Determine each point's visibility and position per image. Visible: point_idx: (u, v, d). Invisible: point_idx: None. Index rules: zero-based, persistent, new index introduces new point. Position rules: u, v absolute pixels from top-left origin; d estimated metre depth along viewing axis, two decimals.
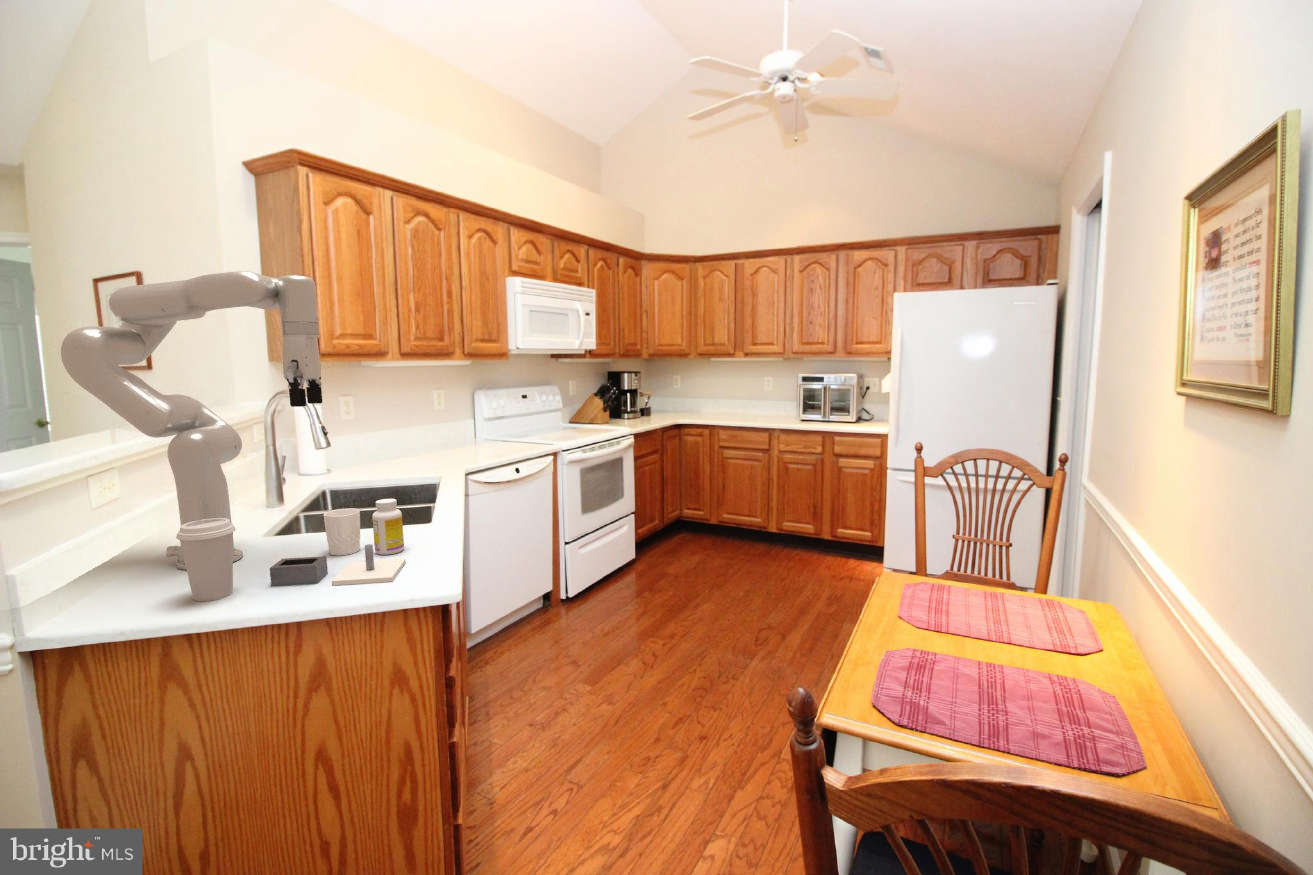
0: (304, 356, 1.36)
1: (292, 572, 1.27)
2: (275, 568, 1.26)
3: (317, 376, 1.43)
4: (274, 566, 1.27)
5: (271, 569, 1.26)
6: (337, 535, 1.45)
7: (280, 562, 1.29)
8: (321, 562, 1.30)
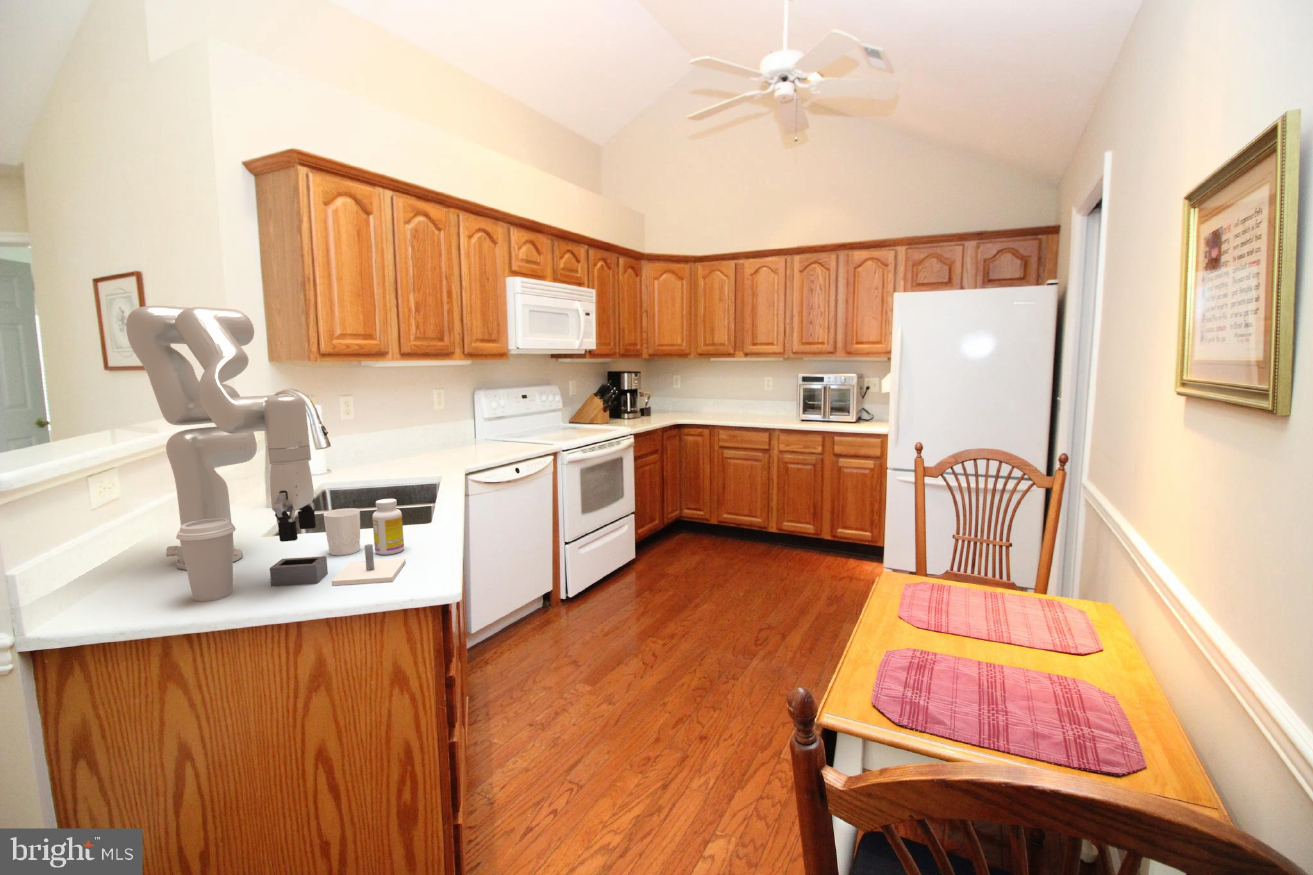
0: (294, 485, 1.23)
1: (292, 572, 1.27)
2: (275, 568, 1.26)
3: (309, 501, 1.30)
4: (274, 566, 1.27)
5: (271, 569, 1.26)
6: (337, 535, 1.45)
7: (280, 562, 1.29)
8: (321, 562, 1.30)
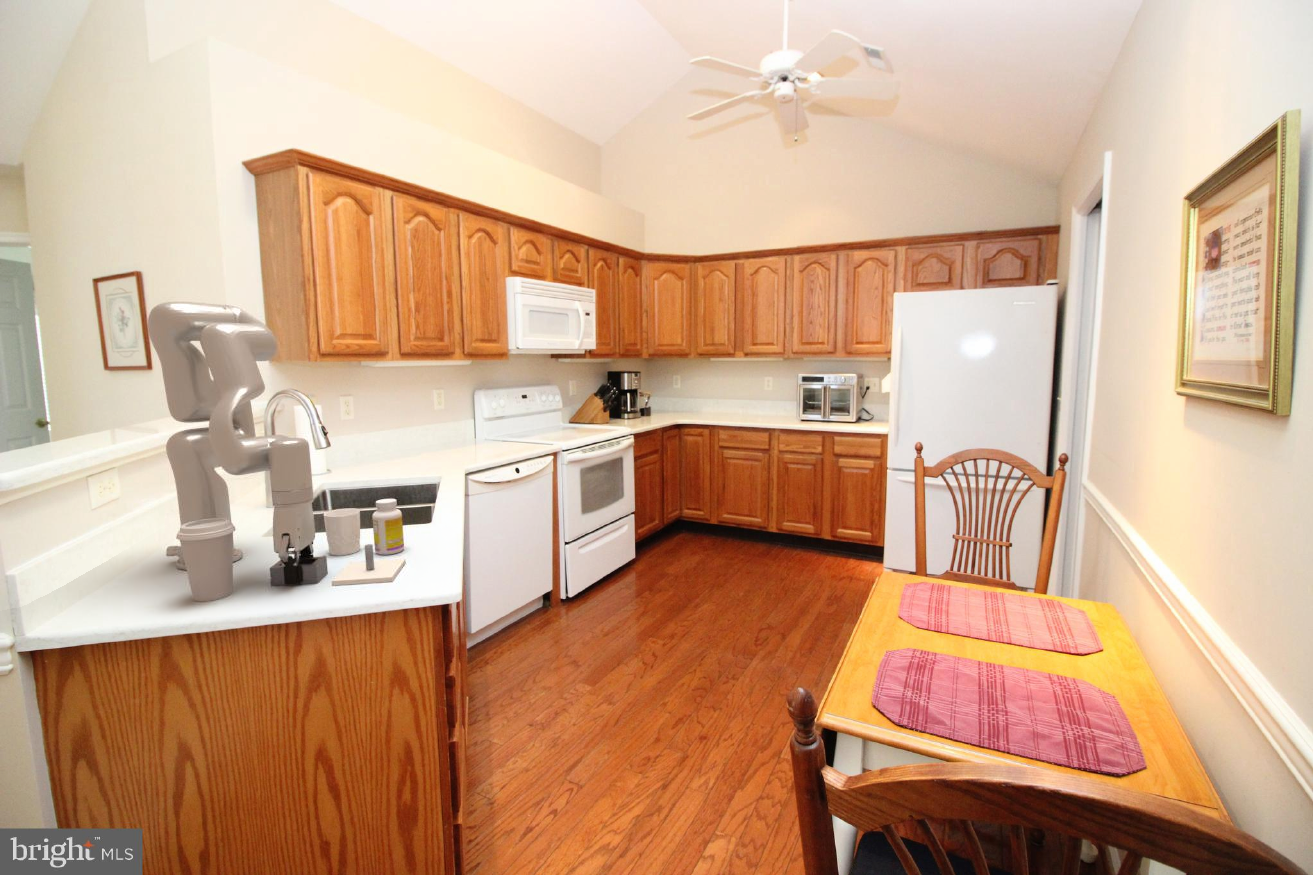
0: (296, 528, 1.25)
1: None
2: (275, 568, 1.26)
3: (311, 541, 1.31)
4: (274, 566, 1.27)
5: (271, 569, 1.26)
6: (337, 535, 1.45)
7: (280, 562, 1.29)
8: (321, 562, 1.30)
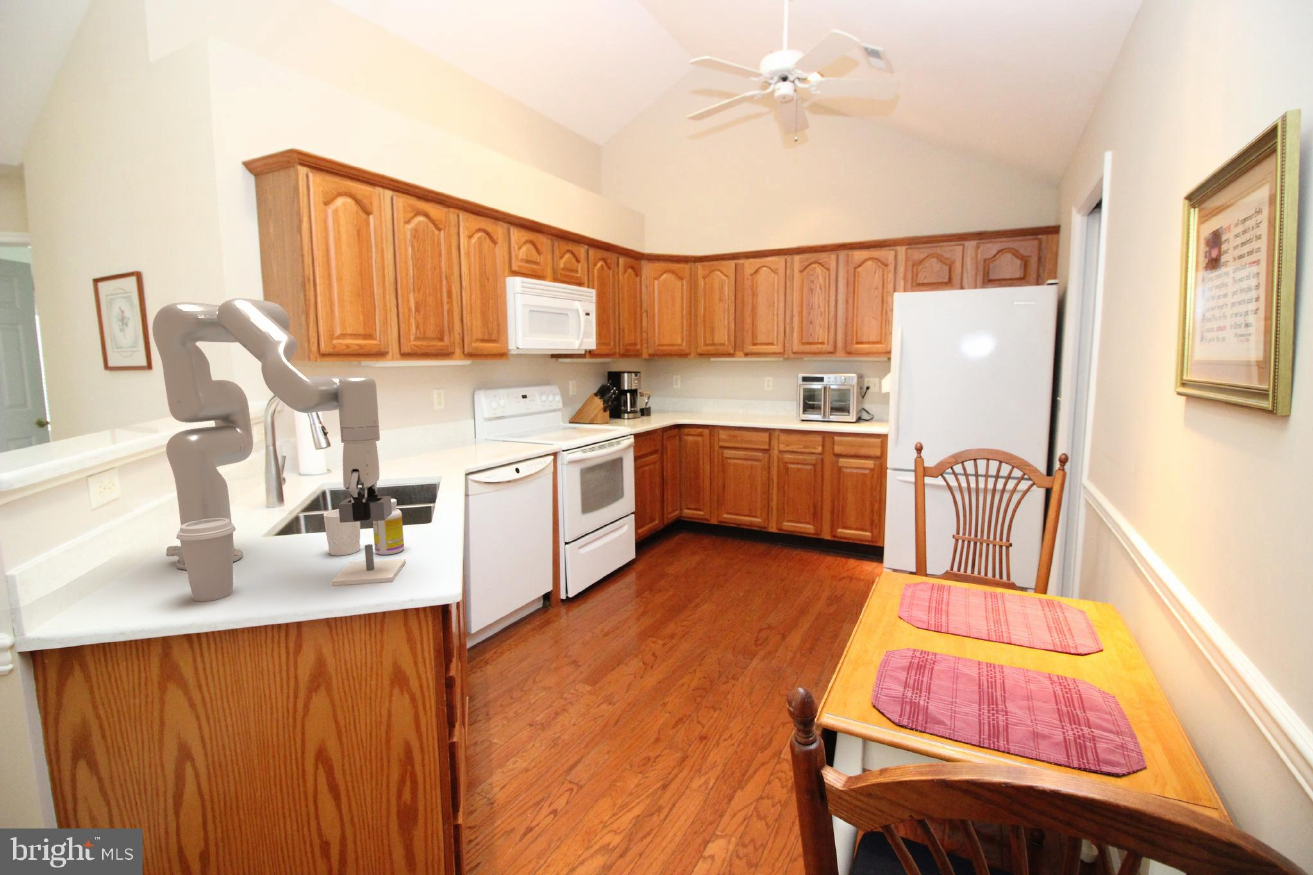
0: (365, 464, 1.26)
1: None
2: (344, 504, 1.28)
3: (376, 480, 1.33)
4: (342, 503, 1.29)
5: (340, 505, 1.28)
6: (337, 535, 1.45)
7: (347, 500, 1.31)
8: (387, 500, 1.32)
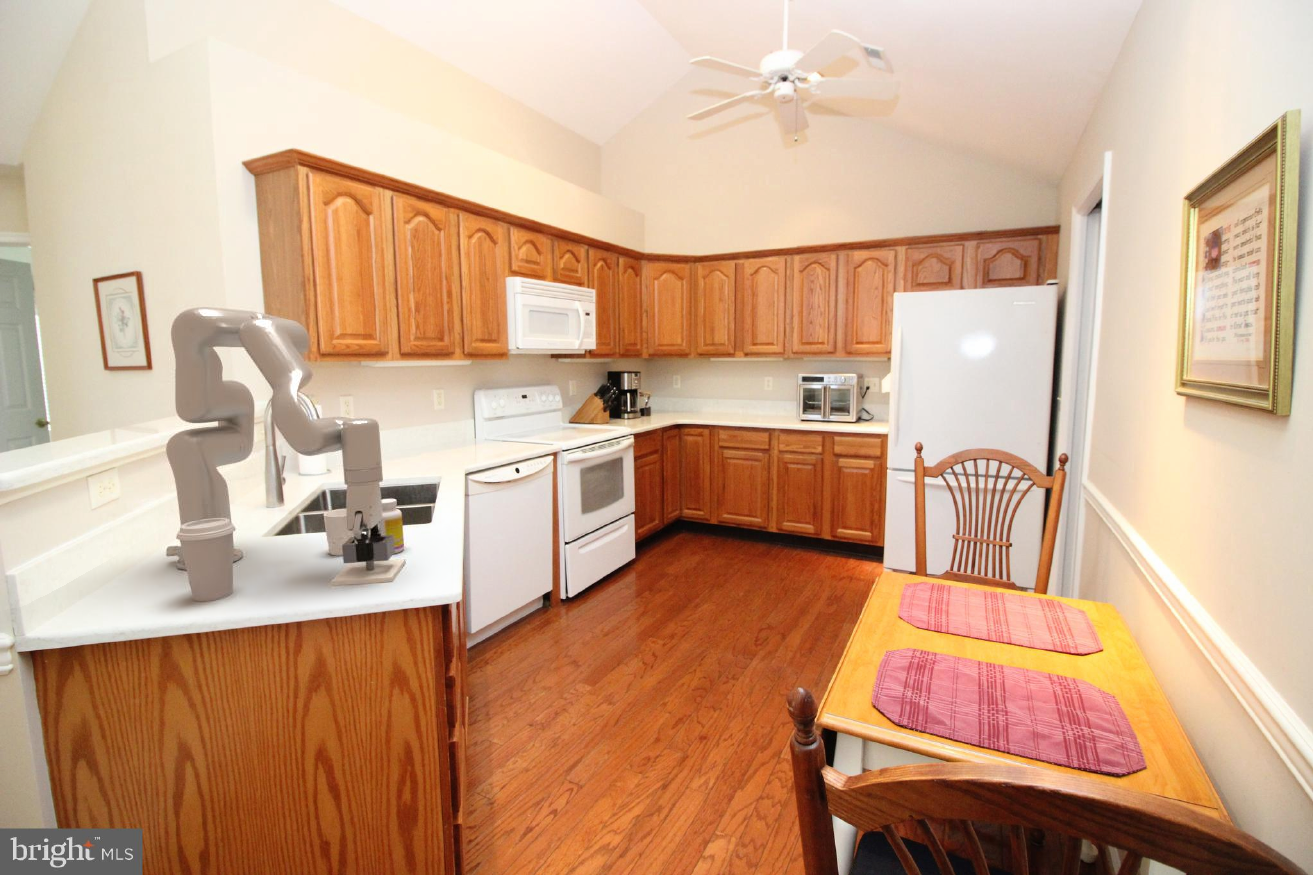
0: (369, 506, 1.27)
1: None
2: (347, 545, 1.29)
3: (379, 519, 1.34)
4: (346, 543, 1.30)
5: (343, 546, 1.29)
6: (337, 535, 1.45)
7: (350, 540, 1.32)
8: (390, 540, 1.33)
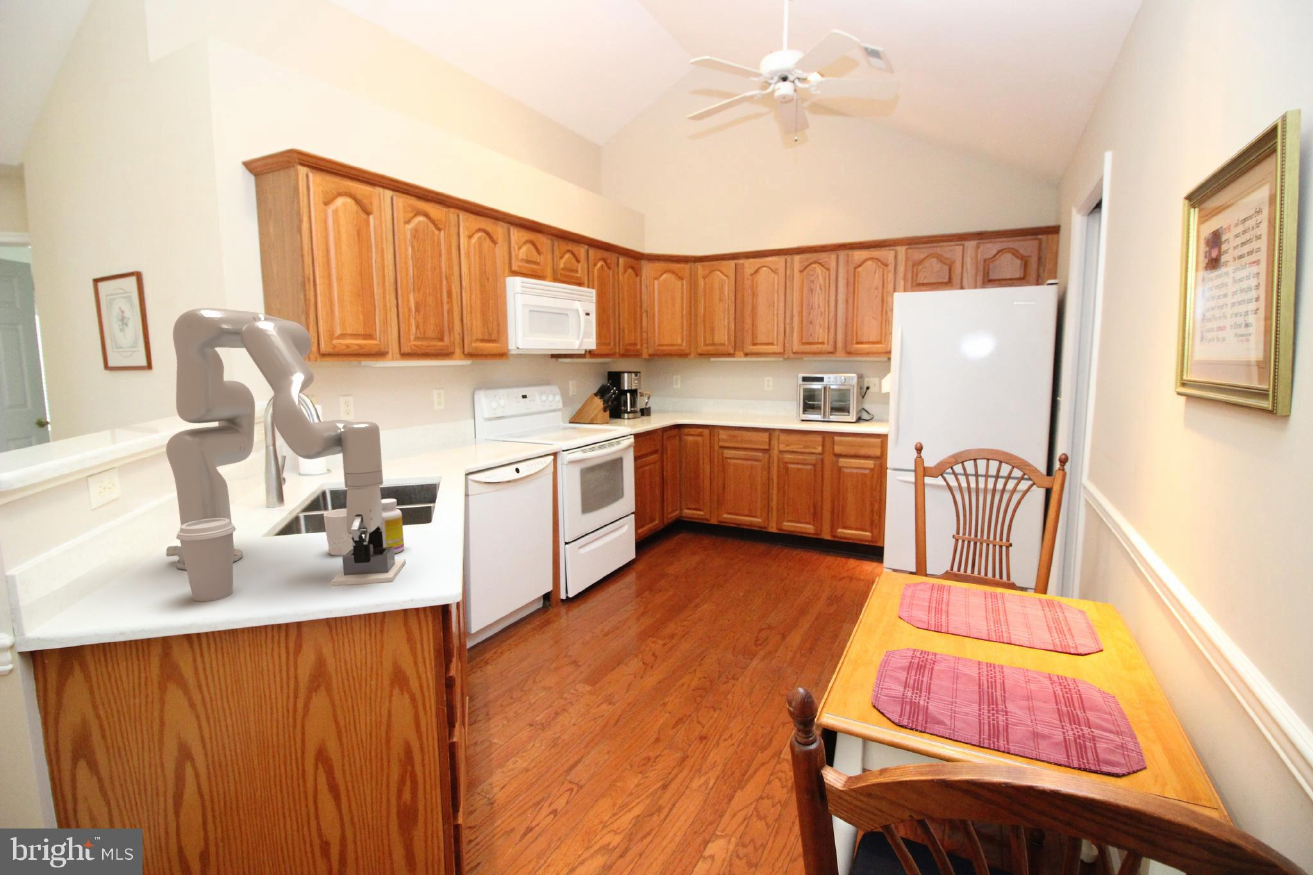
0: (369, 509, 1.27)
1: None
2: (348, 558, 1.29)
3: (379, 523, 1.34)
4: (346, 556, 1.30)
5: (344, 559, 1.29)
6: (337, 535, 1.45)
7: (351, 552, 1.33)
8: (390, 552, 1.33)
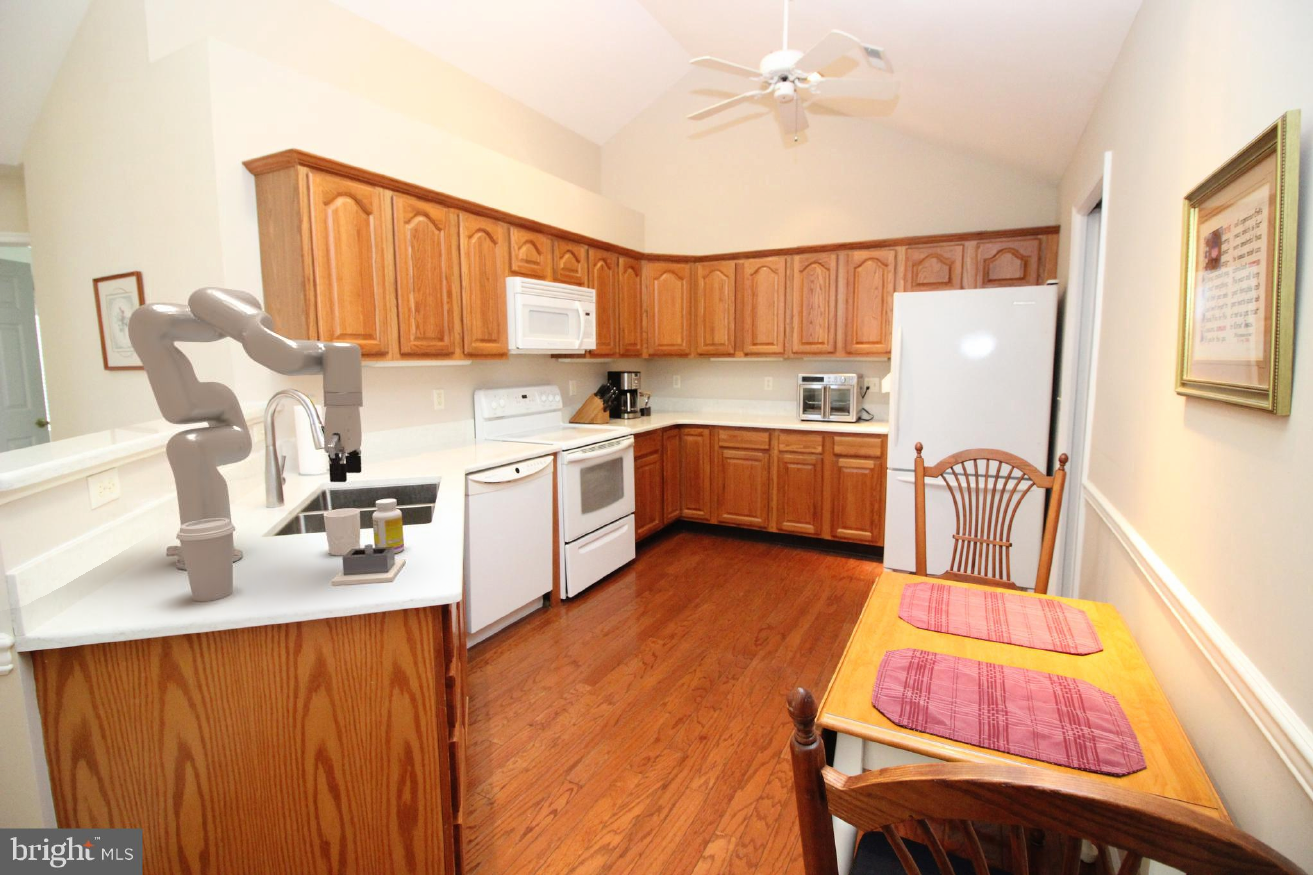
0: (347, 429, 1.28)
1: (364, 561, 1.30)
2: (348, 558, 1.29)
3: (358, 446, 1.35)
4: (346, 556, 1.30)
5: (344, 559, 1.29)
6: (337, 535, 1.45)
7: (351, 552, 1.33)
8: (390, 552, 1.33)
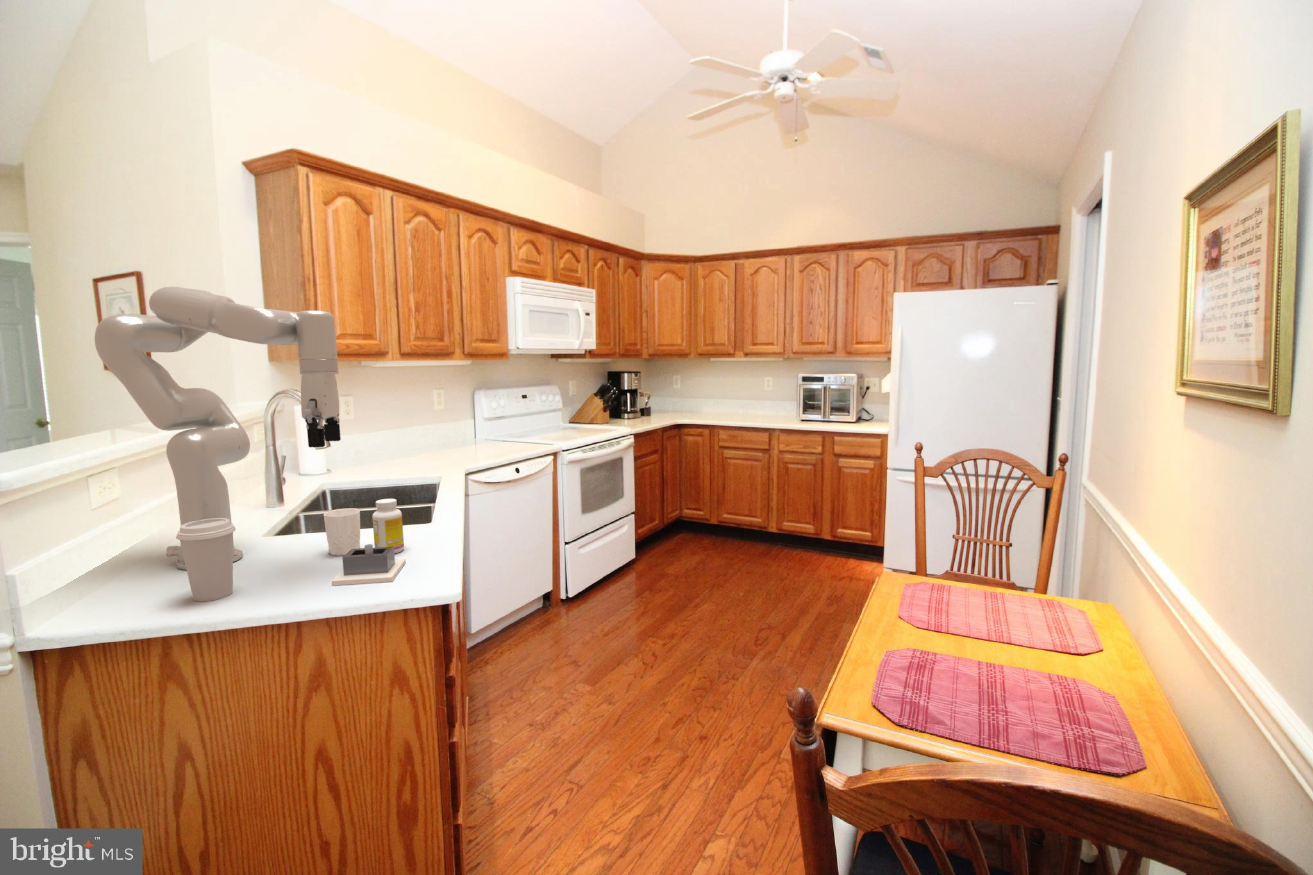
0: (323, 395, 1.30)
1: (364, 561, 1.30)
2: (348, 558, 1.29)
3: (335, 413, 1.37)
4: (346, 556, 1.30)
5: (344, 559, 1.29)
6: (337, 535, 1.45)
7: (351, 552, 1.33)
8: (390, 552, 1.33)
